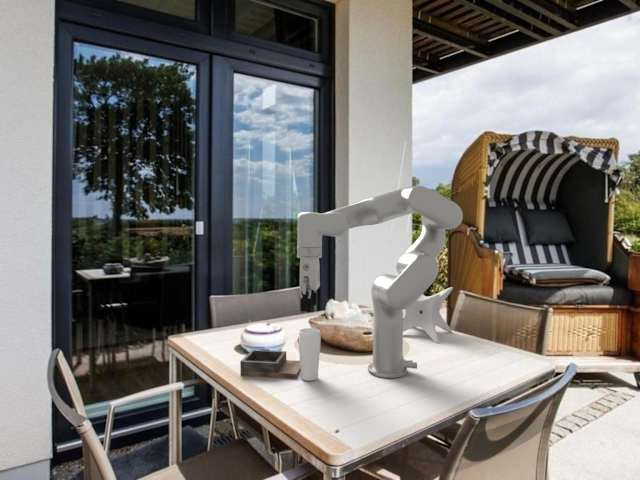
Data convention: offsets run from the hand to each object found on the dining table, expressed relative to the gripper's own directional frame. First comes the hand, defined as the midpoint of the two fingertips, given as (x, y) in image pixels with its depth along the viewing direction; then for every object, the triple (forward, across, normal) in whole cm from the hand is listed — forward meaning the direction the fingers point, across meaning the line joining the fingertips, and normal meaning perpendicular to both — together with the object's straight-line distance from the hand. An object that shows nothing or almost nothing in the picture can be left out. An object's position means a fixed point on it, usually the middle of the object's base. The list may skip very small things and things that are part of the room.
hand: (308, 308), depth 131 cm
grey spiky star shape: (+22, +57, -40) cm, 73 cm away
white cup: (+22, 0, 0) cm, 22 cm away
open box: (+22, +5, +12) cm, 26 cm away
